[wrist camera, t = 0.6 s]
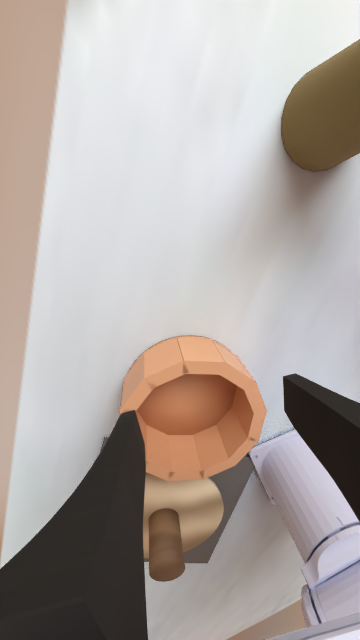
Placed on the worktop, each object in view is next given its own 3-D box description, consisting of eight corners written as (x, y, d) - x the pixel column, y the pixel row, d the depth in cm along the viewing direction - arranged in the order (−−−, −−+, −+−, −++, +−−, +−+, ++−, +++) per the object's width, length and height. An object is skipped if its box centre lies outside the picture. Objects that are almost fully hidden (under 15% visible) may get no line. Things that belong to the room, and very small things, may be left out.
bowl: (258, 409, 26) (280, 445, 21) (156, 454, 26) (158, 499, 22) (219, 314, 22) (238, 335, 17) (100, 368, 22) (90, 402, 18)
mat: (256, 456, 28) (257, 459, 27) (206, 559, 33) (207, 563, 32) (104, 437, 24) (103, 440, 24) (74, 555, 29) (73, 559, 29)
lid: (237, 521, 30) (254, 577, 26) (136, 564, 31) (135, 628, 26) (195, 446, 26) (207, 498, 21) (76, 499, 26) (61, 562, 21)
